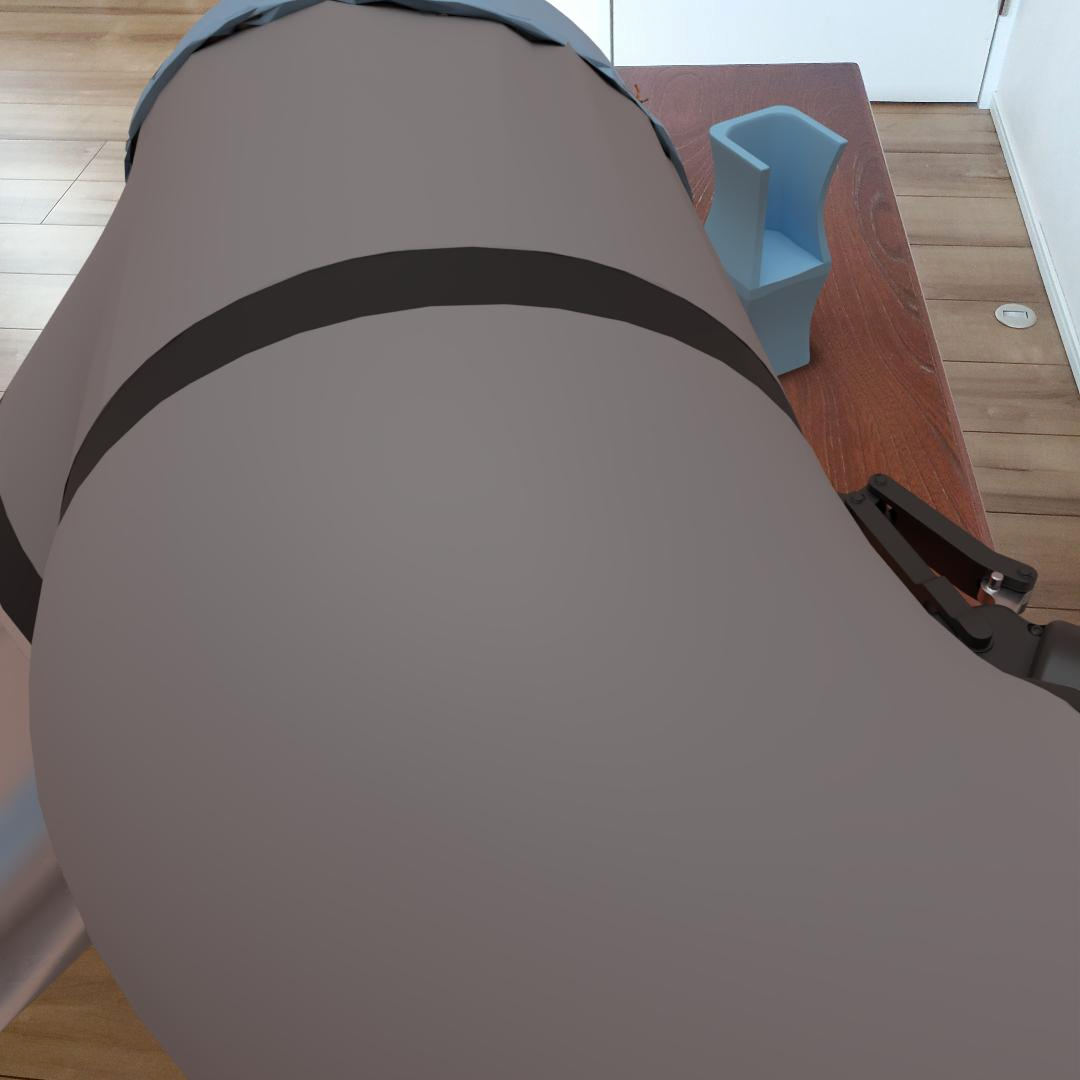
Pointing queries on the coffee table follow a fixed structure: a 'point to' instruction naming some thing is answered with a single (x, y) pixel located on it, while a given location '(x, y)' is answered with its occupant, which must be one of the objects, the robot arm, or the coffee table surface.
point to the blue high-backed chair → (774, 221)
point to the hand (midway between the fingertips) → (665, 570)
